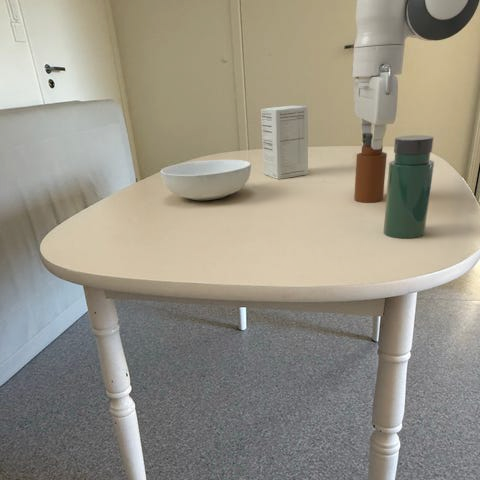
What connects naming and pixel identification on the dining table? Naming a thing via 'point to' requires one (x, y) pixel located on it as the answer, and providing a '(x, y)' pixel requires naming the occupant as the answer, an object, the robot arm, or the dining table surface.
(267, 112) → the supplement box
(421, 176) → the green bottle
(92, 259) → the dining table surface
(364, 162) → the amber bottle
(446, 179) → the dining table surface
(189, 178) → the serving bowl
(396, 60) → the robot arm
